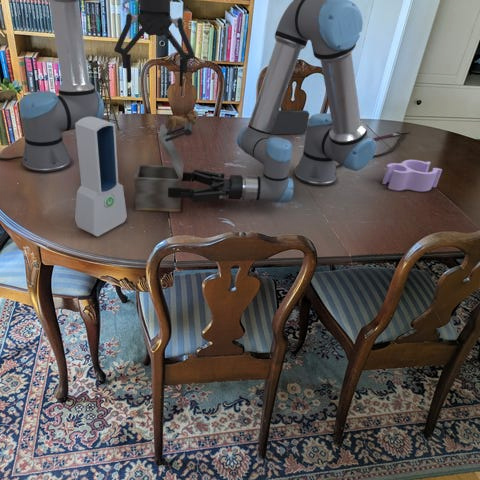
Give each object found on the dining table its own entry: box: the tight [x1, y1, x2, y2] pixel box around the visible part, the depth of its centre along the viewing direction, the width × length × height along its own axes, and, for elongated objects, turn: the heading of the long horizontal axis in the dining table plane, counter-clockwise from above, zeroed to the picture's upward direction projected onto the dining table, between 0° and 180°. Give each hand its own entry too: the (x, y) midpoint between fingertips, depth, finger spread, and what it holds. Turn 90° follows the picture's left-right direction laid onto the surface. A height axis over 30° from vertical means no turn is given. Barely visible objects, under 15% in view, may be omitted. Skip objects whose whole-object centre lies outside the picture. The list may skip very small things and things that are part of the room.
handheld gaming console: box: [271, 109, 310, 135], centre depth 204 cm, size 23×3×10 cm, turn 108°
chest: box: [133, 163, 183, 213], centre depth 141 cm, size 13×10×10 cm
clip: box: [381, 159, 443, 192], centre depth 171 cm, size 20×12×7 cm, turn 109°
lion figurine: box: [165, 109, 199, 134], centre depth 194 cm, size 15×5×9 cm, turn 110°
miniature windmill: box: [90, 53, 120, 130], centre depth 181 cm, size 9×8×30 cm
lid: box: [157, 122, 193, 179], centre depth 134 cm, size 14×10×9 cm
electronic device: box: [74, 116, 128, 238], centre depth 122 cm, size 12×8×30 cm, turn 148°
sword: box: [372, 131, 411, 141], centre depth 215 cm, size 31×3×1 cm, turn 126°
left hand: (155, 83), depth 124 cm, fingers open, 13 cm apart
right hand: (169, 183), depth 141 cm, fingers open, 10 cm apart
